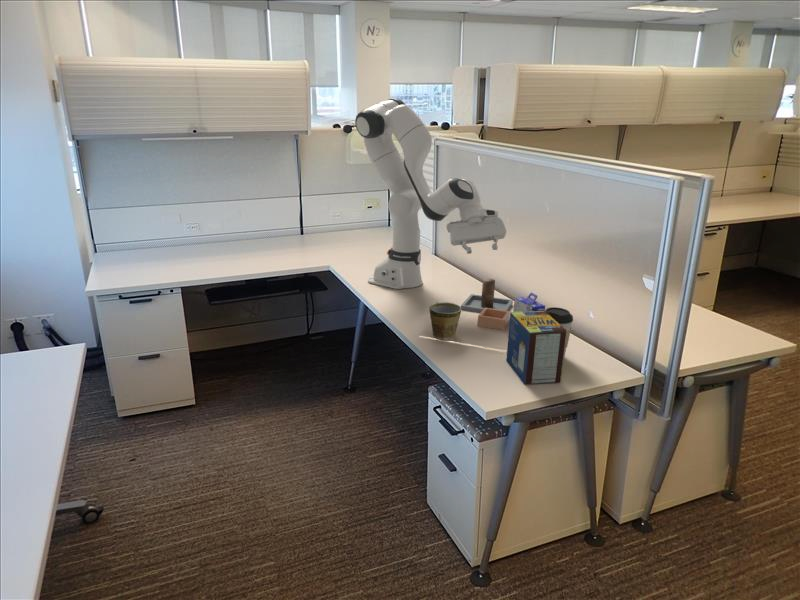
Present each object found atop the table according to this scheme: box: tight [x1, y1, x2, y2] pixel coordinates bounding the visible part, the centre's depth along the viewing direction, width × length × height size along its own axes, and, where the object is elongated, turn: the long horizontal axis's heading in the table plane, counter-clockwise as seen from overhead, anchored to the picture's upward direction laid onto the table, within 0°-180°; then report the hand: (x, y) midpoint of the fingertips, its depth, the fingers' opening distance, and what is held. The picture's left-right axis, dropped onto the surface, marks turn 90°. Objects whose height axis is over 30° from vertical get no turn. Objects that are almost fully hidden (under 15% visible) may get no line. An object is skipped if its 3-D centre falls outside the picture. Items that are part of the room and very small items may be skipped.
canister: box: [481, 278, 496, 308], centre depth 207 cm, size 4×4×10 cm
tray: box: [460, 293, 514, 314], centre depth 208 cm, size 16×14×2 cm
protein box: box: [505, 310, 567, 386], centre depth 158 cm, size 10×15×16 cm
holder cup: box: [477, 308, 511, 331], centre depth 193 cm, size 9×9×4 cm
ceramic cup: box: [429, 302, 462, 342], centre depth 182 cm, size 13×10×10 cm
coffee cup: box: [545, 306, 574, 361], centre depth 167 cm, size 9×9×15 cm
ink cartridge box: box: [512, 292, 546, 312], centre depth 181 cm, size 10×6×14 cm, turn 24°
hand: (482, 250), depth 201 cm, fingers open, 8 cm apart
